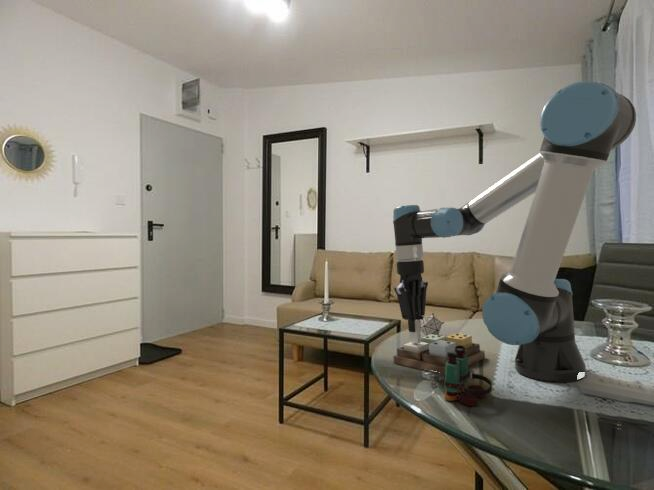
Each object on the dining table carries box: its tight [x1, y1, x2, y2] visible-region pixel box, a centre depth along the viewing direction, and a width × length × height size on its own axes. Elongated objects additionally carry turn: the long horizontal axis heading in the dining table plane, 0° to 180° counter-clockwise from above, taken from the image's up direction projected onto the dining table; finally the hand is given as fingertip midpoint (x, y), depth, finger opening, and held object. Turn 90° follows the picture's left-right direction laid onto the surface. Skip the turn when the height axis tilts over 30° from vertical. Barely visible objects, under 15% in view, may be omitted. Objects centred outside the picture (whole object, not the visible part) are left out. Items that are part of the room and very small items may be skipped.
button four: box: [445, 333, 473, 349], centre depth 108 cm, size 5×5×3 cm
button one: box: [403, 341, 429, 352], centre depth 109 cm, size 5×5×3 cm
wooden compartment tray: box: [392, 338, 486, 376], centre depth 109 cm, size 18×18×4 cm
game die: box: [420, 313, 445, 336], centre depth 134 cm, size 9×8×10 cm
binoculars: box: [443, 345, 493, 407], centre depth 83 cm, size 9×11×10 cm
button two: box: [429, 340, 456, 358], centre depth 103 cm, size 5×5×3 cm
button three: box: [421, 334, 446, 344], centre depth 115 cm, size 5×5×3 cm
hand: (415, 342), depth 109 cm, fingers closed
